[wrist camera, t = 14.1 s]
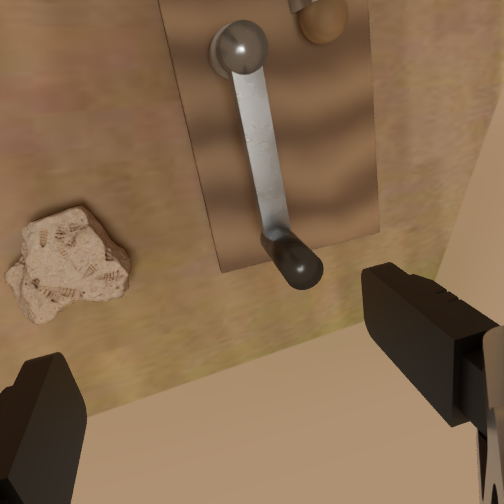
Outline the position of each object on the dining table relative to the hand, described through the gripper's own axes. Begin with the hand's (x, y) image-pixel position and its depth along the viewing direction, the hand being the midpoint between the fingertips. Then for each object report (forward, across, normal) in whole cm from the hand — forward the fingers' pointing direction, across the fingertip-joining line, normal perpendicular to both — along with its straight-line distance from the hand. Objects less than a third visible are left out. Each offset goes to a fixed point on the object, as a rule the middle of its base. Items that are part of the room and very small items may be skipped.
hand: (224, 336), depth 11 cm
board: (+30, -11, -1) cm, 32 cm away
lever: (+26, -7, 0) cm, 27 cm away
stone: (+30, +11, +7) cm, 33 cm away
